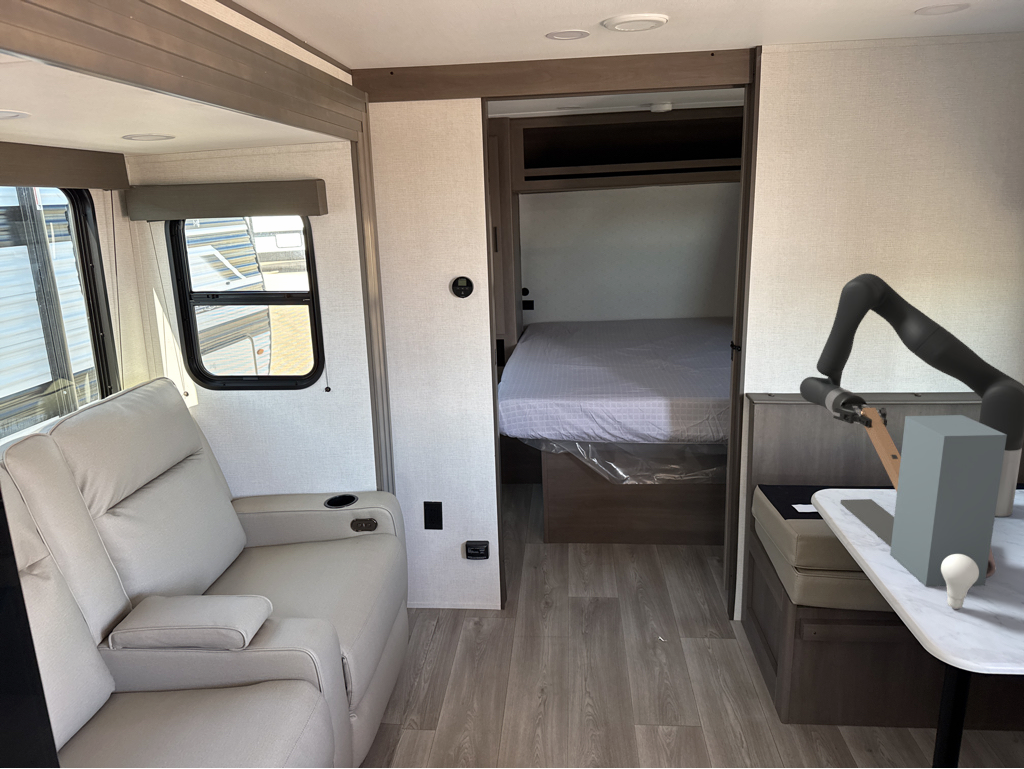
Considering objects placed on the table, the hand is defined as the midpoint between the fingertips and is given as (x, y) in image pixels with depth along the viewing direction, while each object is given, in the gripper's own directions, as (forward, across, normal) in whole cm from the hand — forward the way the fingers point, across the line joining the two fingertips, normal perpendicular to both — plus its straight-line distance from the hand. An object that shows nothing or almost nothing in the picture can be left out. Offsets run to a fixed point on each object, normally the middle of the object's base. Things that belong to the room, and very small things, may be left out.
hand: (877, 423), depth 175 cm
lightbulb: (+45, -5, +24) cm, 51 cm away
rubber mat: (+6, 0, +24) cm, 24 cm away
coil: (+25, +12, +24) cm, 36 cm away
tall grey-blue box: (+29, 0, +23) cm, 37 cm away
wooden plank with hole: (+4, 0, +6) cm, 7 cm away
